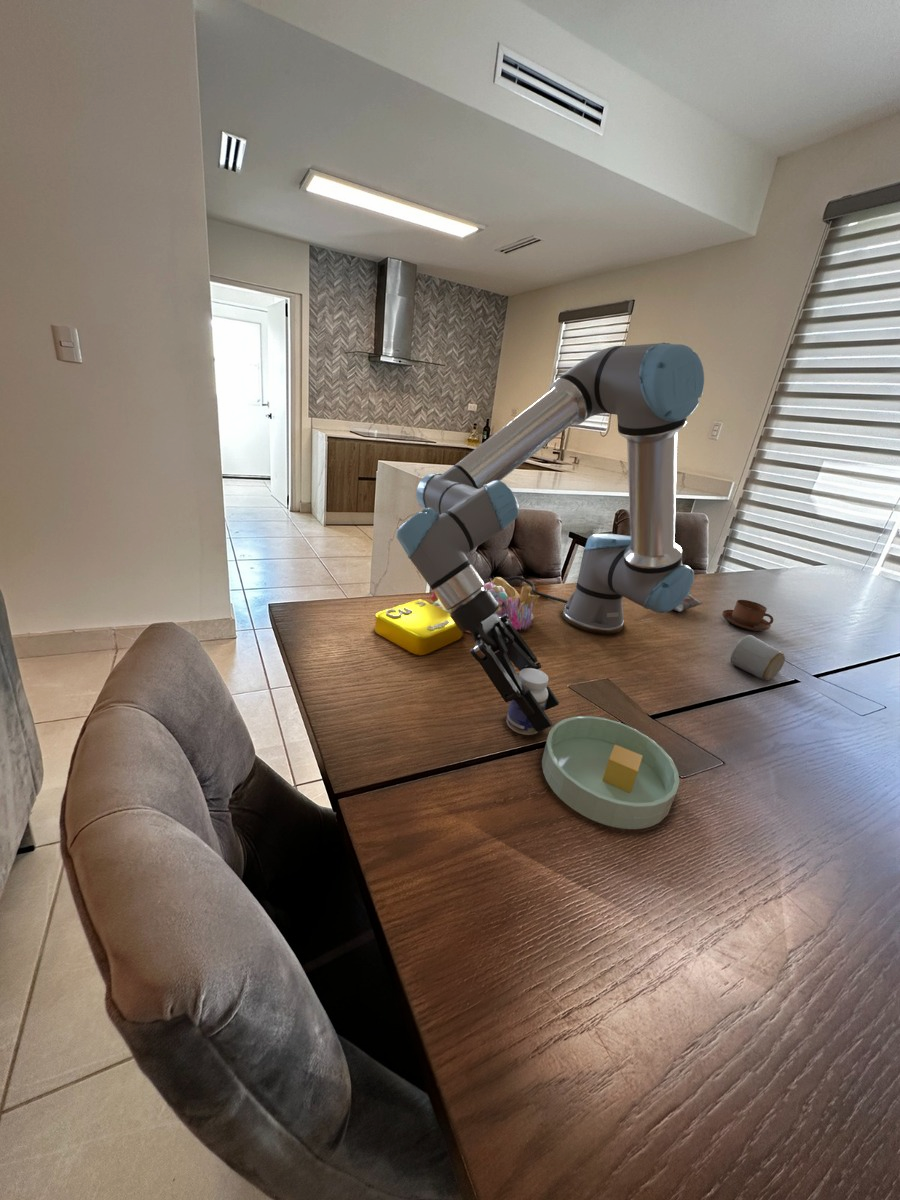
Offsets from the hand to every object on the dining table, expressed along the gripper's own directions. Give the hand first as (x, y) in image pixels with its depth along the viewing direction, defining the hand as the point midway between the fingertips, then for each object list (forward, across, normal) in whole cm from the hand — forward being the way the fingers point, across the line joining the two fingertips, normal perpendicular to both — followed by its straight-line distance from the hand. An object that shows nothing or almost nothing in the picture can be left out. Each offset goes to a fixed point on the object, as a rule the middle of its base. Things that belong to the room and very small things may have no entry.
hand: (548, 716), depth 76 cm
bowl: (+9, +6, +5) cm, 12 cm away
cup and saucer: (+32, -78, +27) cm, 88 cm away
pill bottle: (0, 0, -5) cm, 5 cm away
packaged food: (+19, -78, +14) cm, 82 cm away
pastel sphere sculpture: (-14, -39, -19) cm, 46 cm away
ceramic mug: (+30, -48, +25) cm, 62 cm away
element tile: (-21, -20, -26) cm, 38 cm away
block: (+11, +6, +7) cm, 14 cm away
